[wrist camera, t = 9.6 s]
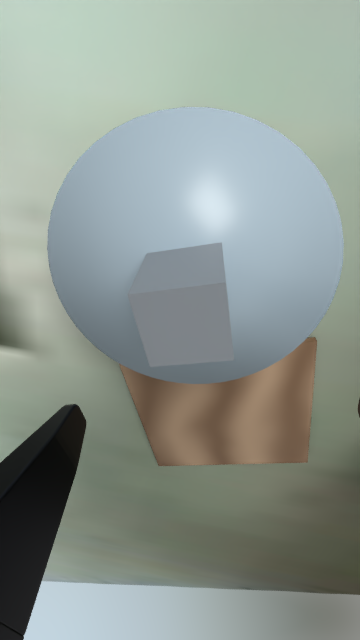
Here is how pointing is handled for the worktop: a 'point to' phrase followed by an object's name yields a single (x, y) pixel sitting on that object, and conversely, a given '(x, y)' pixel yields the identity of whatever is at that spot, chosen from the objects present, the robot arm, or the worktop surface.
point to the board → (230, 414)
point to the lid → (195, 245)
